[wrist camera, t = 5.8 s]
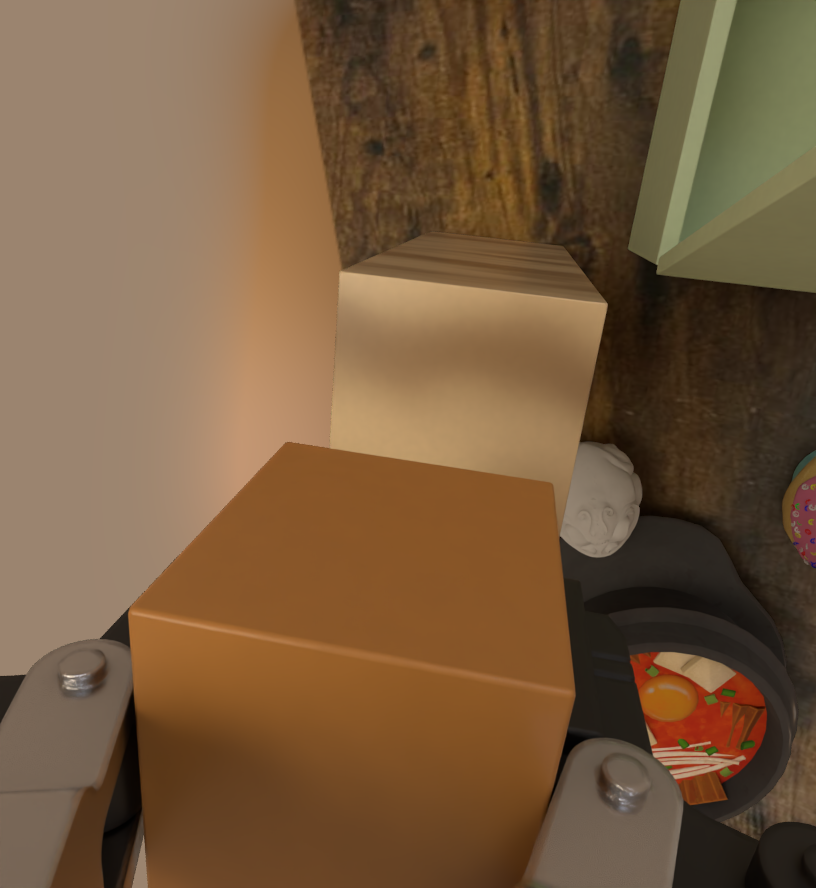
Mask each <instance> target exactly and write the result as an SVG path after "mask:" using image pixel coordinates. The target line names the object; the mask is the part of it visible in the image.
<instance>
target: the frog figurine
mask: <svg viewBox="0 0 816 888" xmlns="http://www.w3.org/2000/svg"><path fill="white" fill-rule="evenodd" d="M633 470H634V467H633V465H632V463H631V461H630V459H629V458H628V457H627V455H626V454H625V453H623V452H622V451H620V450H618V448H617V447H616V446H615V445H614V444H610V443H609V444H601V443H598V442H589V441H586V442H580V443H579V446H578V451H577V456H576V461H575V465H574V470H573V475H572V480H571V485H570V489H569V494H568V499H567V504H566V509H565V513H564V518H563V523H562V528H561V532H560V536H561V537H562V538H563V539H564V540H565V541H566V542H567V543H568V544H569V545H570V546H572V547H573V548H575V549H576V550H578V551H579V552H581V553H583V554H585V555H587V556H590V557H606V556H609V555H611V554H613V553H614V552H616V551H617V550H618V549H619V548H620V547H621V546H622V545H623V544H624V543H625V541H626V540H627V539H628V538H629V536H630V535H631V533H632V531H633V529H634V528H635V526H636V524H637V521H638V517H639V512H640V508H639V504H640V502H641V500H642V486H641V482H640V479H639V476H638V475H637V474H635V473H633Z"/></svg>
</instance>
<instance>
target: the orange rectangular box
mask: <svg viewBox="0 0 816 888" xmlns="http://www.w3.org/2000/svg"><path fill="white" fill-rule="evenodd" d="M128 619H129V633H130V647H131V661H132V674H133V688H134V702H135V716H136V730H137V743H138V757H139V771H140V785H141V798H142V812H143V826H144V839H145V853H146V867H147V881H148V888H514V886H515V885H516V883H517V882H519V883H520V882H521V880H522V878H523V875H524V873H525V870H526V867H527V865H528V862H529V859H530V857H531V854H532V851H533V848H534V846H535V843H536V840H537V838H538V835H539V832H540V830H541V827H542V824H543V822H544V819H545V816H546V814H547V811H548V807H549V803H550V799H551V795H552V791H553V787H554V783H555V779H556V774H557V770H558V766H559V762H560V758H561V754H562V750H563V746H564V742H565V738H566V734H567V729H568V725H569V721H570V717H571V713H572V709H573V705H574V701H575V697H576V692H575V683H574V673H573V664H572V655H571V645H570V636H569V627H568V617H567V608H566V599H565V589H564V580H563V570H562V561H561V552H560V542H559V533H558V524H557V514H556V505H555V496H554V487H553V484H552V483H550V482H545V481H538V480H532V479H526V478H519V477H513V476H506V475H500V474H493V473H487V472H480V471H474V470H467V469H461V468H454V467H448V466H441V465H435V464H428V463H422V462H415V461H409V460H402V459H396V458H389V457H383V456H376V455H370V454H363V453H357V452H350V451H344V450H338V449H331V448H324V447H318V446H312V445H305V444H299V443H292V442H287V443H285V444H284V445H283V446H282V447H281V448H280V449H279V450H278V451H277V452H276V453H275V455H273V457H272V458H271V459H270V460H269V461H268V462H267V463H266V464H265V465H264V466H263V467H262V468H261V469H260V470H259V471H258V472H257V473H256V474H255V476H254V477H253V478H252V479H251V480H250V481H249V482H248V483H247V484H246V485H245V486H244V487H243V488H242V489H241V490H240V491H239V492H238V494H237V495H236V496H235V497H234V498H233V499H232V500H231V501H230V502H229V503H228V504H227V505H226V506H225V507H224V508H223V509H222V511H221V512H220V513H219V514H218V515H217V516H216V517H215V518H214V519H213V520H212V521H211V522H210V523H209V524H208V525H207V526H206V527H205V528H204V530H203V531H202V532H201V533H200V534H199V535H198V536H197V537H196V538H195V539H194V540H193V541H192V542H191V543H190V544H189V545H188V546H187V547H186V548H185V550H184V551H183V552H182V553H181V554H180V555H179V556H178V557H177V558H176V559H175V560H174V561H173V562H172V563H171V564H170V565H169V566H168V568H167V569H166V570H165V571H164V572H163V573H162V574H161V575H160V576H159V577H158V578H157V579H156V580H155V581H154V582H153V583H152V584H151V585H150V587H149V588H148V589H147V590H146V591H145V592H144V593H143V594H142V595H141V596H140V597H139V598H138V599H137V600H136V601H135V602H134V603H133V605H132V606H131V607H130V609H129V612H128Z"/></svg>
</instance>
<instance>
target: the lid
mask: <svg viewBox="0 0 816 888" xmlns="http://www.w3.org/2000/svg"><path fill="white" fill-rule="evenodd" d="M657 274H658V275H665V276H674V277H683V278H691V279H700V280H709V281H717V282H726V283H735V284H743V285H752V286H760V287H769V288H778V289H786V290H795V291H804V292H812V293H816V146H815V147H813V148H812V149H810V150H809V151H808V152H806V153H805V154H803V155H802V156H801V157H799V158H798V159H796V160H795V161H794V162H792V163H791V164H789V165H788V166H787V167H785V168H784V169H782V170H781V171H780V172H778V173H777V174H775V175H774V176H773V177H771V178H770V179H768V180H767V181H766V182H764V183H763V184H761V185H760V186H759V187H757V188H756V189H754V190H753V191H752V192H750V193H749V194H747V195H746V196H745V197H743V198H742V199H740V200H739V201H738V202H736V203H735V204H733V205H732V206H731V207H729V208H728V209H727V210H725V211H724V212H722V213H721V214H720V215H718V216H717V217H715V218H714V219H713V220H711V221H710V222H708V223H707V224H706V225H704V226H703V227H701V228H700V229H699V230H697V231H696V232H694V233H693V234H692V235H690V236H689V237H687V238H686V239H685V240H683V241H682V242H680V243H679V244H678V245H676V246H675V247H673V248H672V249H671V250H669V251H668V252H666V253H665V254H664V255H662V256H661V257H660V258H659V261H658V267H657Z"/></svg>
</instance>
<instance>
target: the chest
mask: <svg viewBox="0 0 816 888" xmlns="http://www.w3.org/2000/svg"><path fill="white" fill-rule="evenodd" d="M815 146H816V0H681V1H680V6H679V11H678V15H677V20H676V25H675V30H674V34H673V39H672V44H671V48H670V53H669V58H668V62H667V67H666V72H665V76H664V81H663V86H662V91H661V95H660V100H659V105H658V109H657V114H656V119H655V123H654V128H653V133H652V138H651V142H650V147H649V152H648V156H647V161H646V166H645V170H644V175H643V180H642V184H641V189H640V194H639V199H638V203H637V208H636V213H635V217H634V222H633V227H632V231H631V236H630V241H629V245H628V250H630V251H632V252H634V253H635V254H637V255H639V256H641V257H643V258H645V259H647V260H648V261H650V262H652V263H654V264H656V265H658V261H659V258H660V257H661V256H662V255H664V254H665V253H666V252H668V251H669V250H671V249H672V248H673V247H675V246H676V245H678V244H679V243H680V242H682V241H683V240H685V239H686V238H687V237H689V236H690V235H692V234H693V233H694V232H696V231H697V230H699V229H700V228H701V227H703V226H704V225H706V224H707V223H708V222H710V221H711V220H713V219H714V218H715V217H717V216H718V215H720V214H721V213H722V212H724V211H725V210H727V209H728V208H729V207H731V206H732V205H733V204H735V203H736V202H738V201H739V200H740V199H742V198H743V197H745V196H746V195H747V194H749V193H750V192H752V191H753V190H754V189H756V188H757V187H759V186H760V185H761V184H763V183H764V182H766V181H767V180H768V179H770V178H771V177H773V176H774V175H775V174H777V173H778V172H780V171H781V170H782V169H784V168H785V167H787V166H788V165H789V164H791V163H792V162H794V161H795V160H796V159H798V158H799V157H801V156H802V155H803V154H805V153H806V152H808V151H809V150H810V149H812V148H813V147H815Z"/></svg>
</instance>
